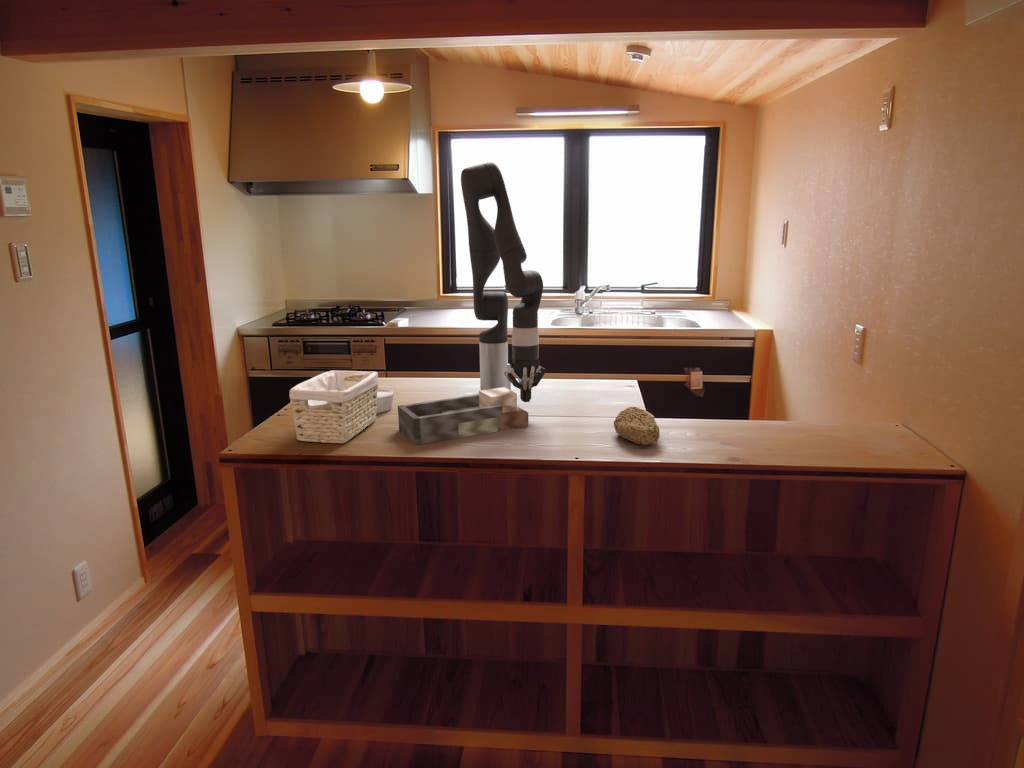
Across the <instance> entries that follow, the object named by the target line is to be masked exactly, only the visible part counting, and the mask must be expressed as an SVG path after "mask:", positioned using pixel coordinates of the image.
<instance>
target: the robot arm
mask: <svg viewBox="0 0 1024 768" xmlns="http://www.w3.org/2000/svg"><path fill="white" fill-rule="evenodd" d="M460 184H461V192H462V198H463V202H464V208H465V214H466V224H467V235H468V249H469V258H470V264H471V265H470V266H471V267H470V268H471V273H472V291H473V292H472V293H473V294H472V296H473V313H474V317H475V318H476V319H477V320H479V321H497V324H495V325H494V326H493V327H491V328H488V329H485V330H482V331H481V332H479V334H478V335H479V337H478V342H479V345H478V346H479V381H480V382H479V383H480V384H479V385H480V386H479V388H480V390H487V389H494V388H501V387H505V388H507V389H509V390H511V391H512V389H511V388H512V386H513V387H514V388H516V389H518V390H520V394H519V395H520V396H519V397H520V400H521V401H522V402H523V403H530V402H531V400H532V388H534V387H537V386H538V385H539V383H540V382H541V380H542V378H543V377H544V375H545V374H546V373H547V368H544V367H542V366H541V365H540V362H539V358H540V355H539V354H540V353H539V352H540V345H539V344H540V343H539V342H540V338H539V337H540V335H539V334H540V333H539V326H538V325H539V320H538V319H539V317H538V315H539V314H538V312H539V308H540V304H541V300H542V296H543V291H544V281H543V278H542V276H541V274H540V273H539V271H537V270H533V269H528V270H523V268H522V264H523V263H524V262H526V261H527V258H528V257H527V256H528V255H527V251H526V249H525V247H524V243H523V242H522V239H521V237H520V234H519V231H518V230H517V226H516V223H515V220H514V219H515V218H514V216H513V212H512V206H511V204H510V203H511V202H510V199H509V195H508V192H507V188H506V184H505V180H504V177H503V175H502V171H501V170H500V168H499V167H498V165H497V164H496V163H495V162H493V161H489V162H488V161H487V162H485V163H481V164H475V165H472V166H469V167H465V168H464V169H463V170H462V171H461V174H460ZM491 197H494V200H495V203H496V207H497V208H496V210H497V211H496V219H495V225H494V227H493V226H492V225H491V224H490V223H489V221H488V220H487V219H486V218H485V217H484V216H483V214H482V212H481V209H480V201H481V200H485V199H488V198H491ZM500 259H501V261H502V269H503V275H504V277H503V278H504V282H505V288H506V289H507V291H508V292H509V295H511V296H512V297H515V298H519V299H520V298H521V299H520V300H521V301H520V302H519V304H518V305H516V306H515V307H513V309H512V330H511V331H512V332H511V350H512V351H511V352H512V355H511V359H512V362H511V364H510V363H509V349H508V348H509V345H508V344H509V342H508V341H509V340H508V339H509V337H508V336H509V335H508V317H509V314H508V313H509V297H508V295H507V293H506V292H505V291H485V290H484V288H485V286H486V283H487V281H488V279H489V278H490V276H491V275H492V273H493V272H494V270H495V269H496V268H497V266H498V265H499V262H500ZM515 375H516V377H517V378H516V377H515ZM511 385H512V386H511ZM480 390H479V391H480Z"/></svg>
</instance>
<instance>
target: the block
mask: <svg viewBox="0 0 1024 768" xmlns="http://www.w3.org/2000/svg"><path fill="white" fill-rule="evenodd" d="M478 394H479V408H481V407H487V406H494V405H502V413H505V412H512V411H517V407H518V393H517V392H515V391H513V390H512V389H511V390H509V389H507V388H505V387H501V388H494V389H487V390H478Z"/></svg>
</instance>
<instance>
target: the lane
mask: <svg viewBox="0 0 1024 768" xmlns="http://www.w3.org/2000/svg"><path fill="white" fill-rule="evenodd" d="M397 415H398V430H399V431H400V432H401V431H402V432H403V433H404V434H405V435H406V436H407V437H408V438H409V439H408V438H407V437H406V436H405V435H404V434H403V433H402V432H401V433H402V434H403V435H404V436H405V437H406V438H407V439H408V440H409V441H411V442H412V443H413V445H415V446H419V445H423V444H431V443H436V442H442V441H443V442H444V441H448V440H453V439H454V440H455V439H460V438H466V437H471V436H478V435H479V436H480V435H484V434H490V433H495V432H496V433H497V432H501V430H502V431H508V430H513V429H512V428H514V429H519V428H518V427H520V428H525V426H526V427H529V412H528V411H527V410H525V409H523V408H522V407H519V406H517V411H512V412H505V413H502V405H494V406H487V407H481V408H479V393H478V394H473V395H466V396H458V397H450V398H444V399H436V400H429V401H424V402H423V401H422V402H416V403H408V404H402V405H397ZM507 429H508V430H507Z"/></svg>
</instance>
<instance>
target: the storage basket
mask: <svg viewBox="0 0 1024 768" xmlns="http://www.w3.org/2000/svg"><path fill="white" fill-rule="evenodd" d="M346 381H347V382H357V383H356V384H354V385H352V386H346ZM378 387H379V373H378V372H377V371H366V370H365V371H362V370H359V371H358V370H335V369H333V370H331V369H330V370H329V371H326V372H322V373H320V374H318V375H316V376H313V377H311V378H310V379H306V380H304V381H302V382H300V383H298V384H296V385H295V386H293V387H291V389H290V390H288V391H289V395H288V396H289V400H290V406H291V410H292V414H293V415H292V417H293V422H294V428H295V438H296V440H297V441H300V442H313V443H323V444H325V443H326V444H327V443H328V444H329V443H330V444H346V443H347V442H348V441H351V439H352V438H354V437H355V436H357V435H358V434H359V433H361V432H362V431H364V430H366V429H367V428H366V427H367V426H368V427H369V426H370V425H372V424H373V423H375V422H376V420H377V413H376V410H377V391H378V390H377V389H379V388H378ZM365 428H366V429H365ZM363 429H364V430H363Z"/></svg>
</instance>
